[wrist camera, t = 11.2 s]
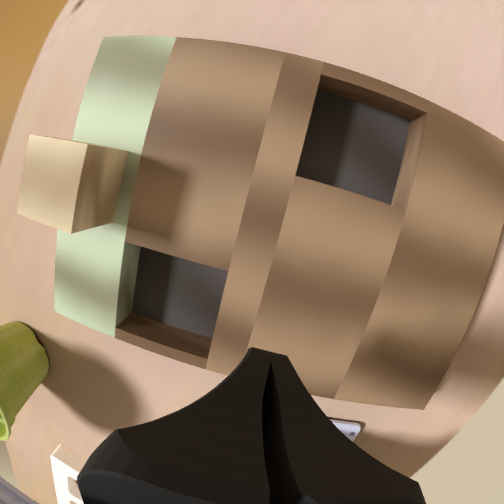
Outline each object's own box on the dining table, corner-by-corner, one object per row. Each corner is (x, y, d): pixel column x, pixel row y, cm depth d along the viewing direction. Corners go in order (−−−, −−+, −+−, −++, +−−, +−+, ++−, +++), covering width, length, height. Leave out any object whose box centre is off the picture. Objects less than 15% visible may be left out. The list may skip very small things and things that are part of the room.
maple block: (113, 222, 16) (70, 233, 12) (61, 205, 16) (16, 213, 12) (128, 151, 15) (87, 144, 11) (74, 140, 15) (29, 134, 11)
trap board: (410, 386, 20) (423, 409, 17) (77, 297, 21) (54, 311, 18) (491, 152, 16) (516, 150, 13) (124, 52, 17) (103, 36, 14)
